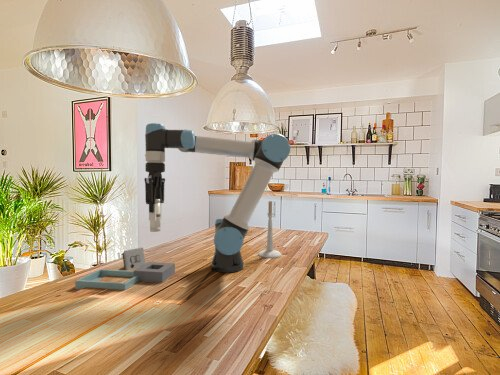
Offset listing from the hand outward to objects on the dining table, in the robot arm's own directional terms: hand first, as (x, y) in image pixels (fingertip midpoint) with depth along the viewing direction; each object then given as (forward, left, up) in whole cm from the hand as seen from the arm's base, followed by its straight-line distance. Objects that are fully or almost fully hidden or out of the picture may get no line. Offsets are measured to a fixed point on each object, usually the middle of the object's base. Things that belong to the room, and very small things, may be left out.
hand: (155, 219), depth 117 cm
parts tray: (+14, +8, -25) cm, 29 cm away
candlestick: (-44, -46, -25) cm, 68 cm away
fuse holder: (0, 0, -25) cm, 25 cm away
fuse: (0, 0, -5) cm, 5 cm away
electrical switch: (+16, -11, -25) cm, 32 cm away
